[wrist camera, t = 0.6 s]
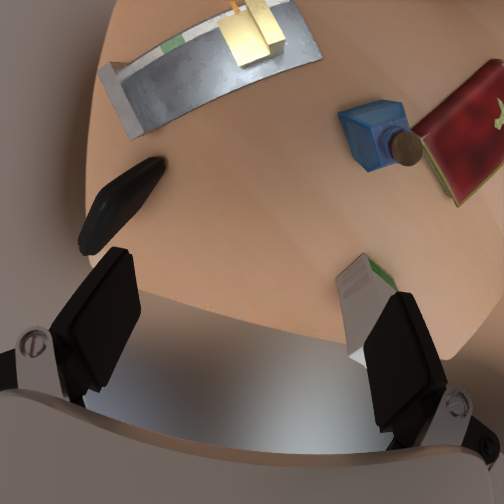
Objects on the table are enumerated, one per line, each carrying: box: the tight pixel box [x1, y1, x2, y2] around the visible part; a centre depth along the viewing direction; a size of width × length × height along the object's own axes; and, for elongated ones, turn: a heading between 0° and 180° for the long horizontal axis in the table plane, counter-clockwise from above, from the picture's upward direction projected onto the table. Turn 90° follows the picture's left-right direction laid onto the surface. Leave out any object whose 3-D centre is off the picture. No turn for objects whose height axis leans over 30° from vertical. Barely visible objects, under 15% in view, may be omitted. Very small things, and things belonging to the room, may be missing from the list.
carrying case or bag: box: [78, 157, 165, 256], centre depth 31 cm, size 11×3×15 cm, turn 139°
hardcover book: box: [411, 59, 504, 207], centre depth 26 cm, size 12×21×4 cm, turn 137°
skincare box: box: [336, 253, 398, 369], centre depth 36 cm, size 8×7×16 cm
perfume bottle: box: [338, 100, 423, 172], centre depth 25 cm, size 6×6×12 cm
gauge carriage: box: [216, 0, 285, 69], centre depth 21 cm, size 5×8×9 cm, turn 23°
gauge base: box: [97, 0, 323, 141], centre depth 25 cm, size 23×10×6 cm, turn 113°
